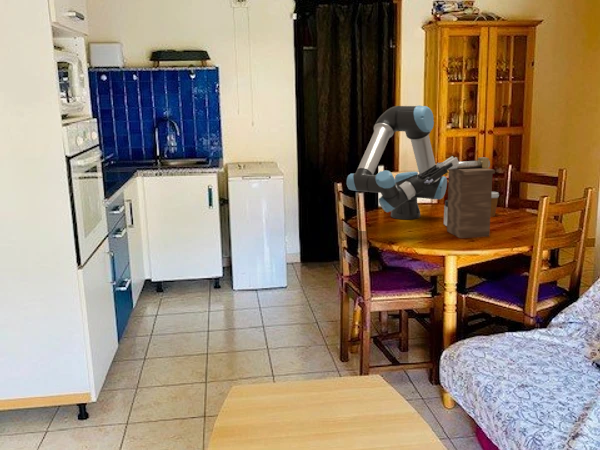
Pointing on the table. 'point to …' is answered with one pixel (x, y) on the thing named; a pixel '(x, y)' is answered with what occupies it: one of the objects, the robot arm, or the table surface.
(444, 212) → the jar
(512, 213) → the table surface
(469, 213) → the stand
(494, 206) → the disposable coffee cup
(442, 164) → the pipe
